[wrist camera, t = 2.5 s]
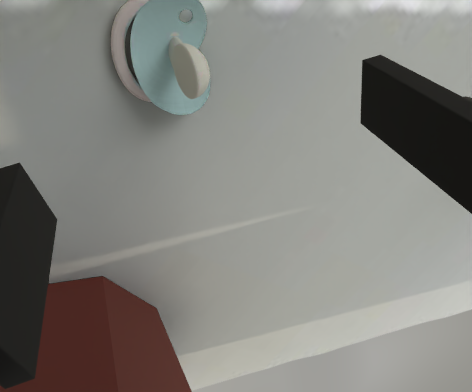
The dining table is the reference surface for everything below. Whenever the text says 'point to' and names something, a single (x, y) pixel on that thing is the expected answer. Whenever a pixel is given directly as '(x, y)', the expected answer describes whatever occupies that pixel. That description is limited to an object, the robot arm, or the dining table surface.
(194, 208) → the dining table surface
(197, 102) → the pacifier
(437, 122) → the robot arm
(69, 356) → the bucket
